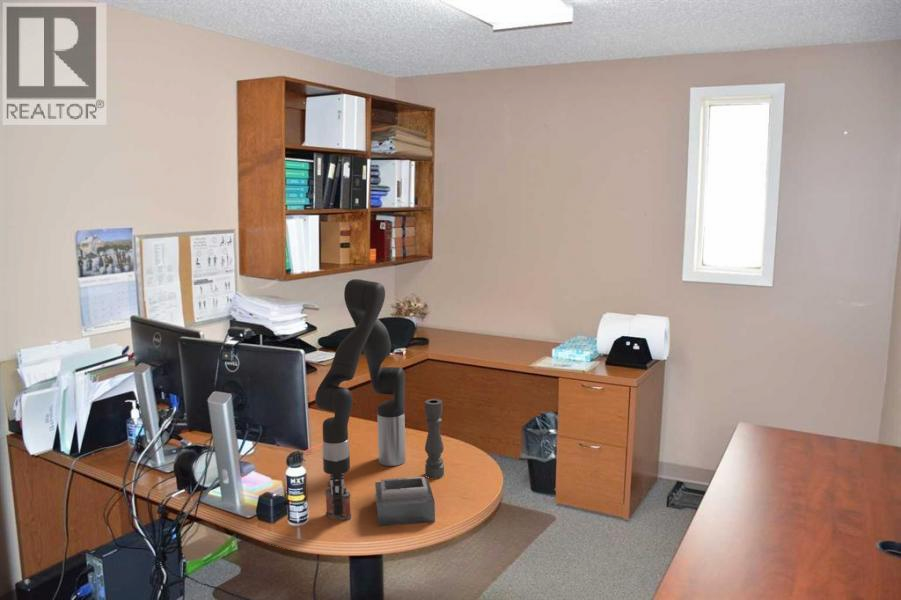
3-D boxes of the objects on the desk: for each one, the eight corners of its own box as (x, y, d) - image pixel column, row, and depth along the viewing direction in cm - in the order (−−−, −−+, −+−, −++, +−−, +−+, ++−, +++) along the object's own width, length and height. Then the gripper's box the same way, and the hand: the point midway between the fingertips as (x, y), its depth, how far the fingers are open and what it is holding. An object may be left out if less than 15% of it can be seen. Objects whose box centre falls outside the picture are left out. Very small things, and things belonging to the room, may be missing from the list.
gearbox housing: (375, 501, 214) (374, 474, 212) (428, 497, 216) (427, 470, 215) (378, 526, 198) (377, 497, 197) (434, 521, 200) (434, 493, 199)
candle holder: (441, 479, 229) (440, 405, 224) (423, 478, 230) (421, 404, 226) (445, 471, 235) (445, 399, 230) (427, 470, 236) (426, 398, 232)
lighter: (353, 516, 204) (352, 483, 202) (347, 521, 201) (346, 488, 199) (330, 511, 207) (329, 479, 206) (323, 516, 204) (322, 483, 203)
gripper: (323, 446, 208) (325, 500, 210) (322, 465, 194) (324, 523, 196) (349, 444, 209) (351, 498, 212) (349, 463, 195) (351, 521, 198)
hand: (338, 510), depth 204 cm, fingers open, 5 cm apart
